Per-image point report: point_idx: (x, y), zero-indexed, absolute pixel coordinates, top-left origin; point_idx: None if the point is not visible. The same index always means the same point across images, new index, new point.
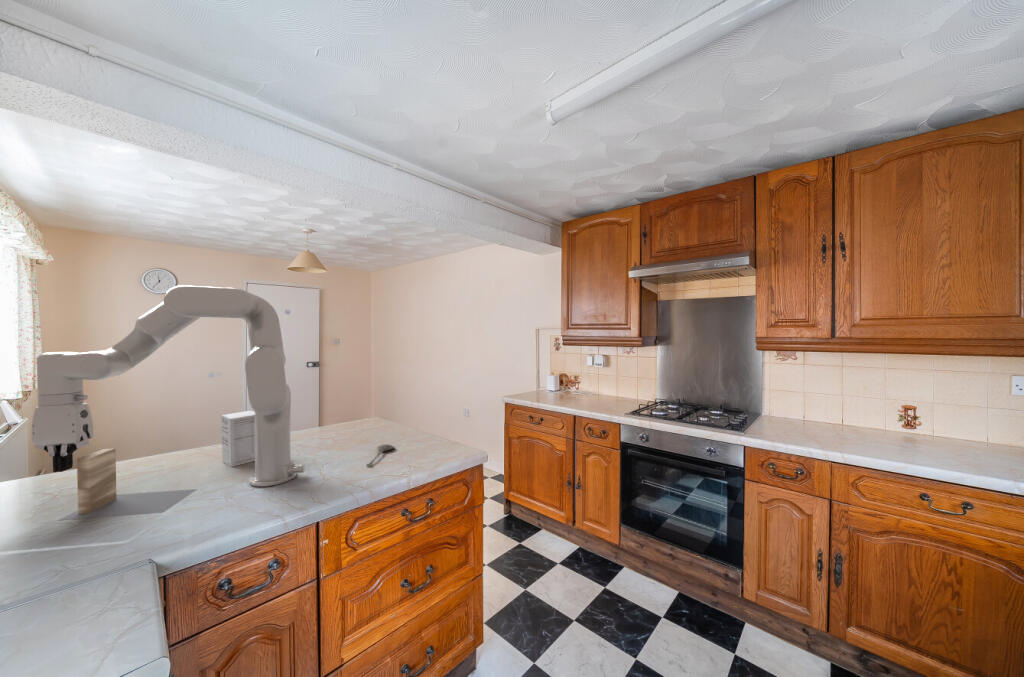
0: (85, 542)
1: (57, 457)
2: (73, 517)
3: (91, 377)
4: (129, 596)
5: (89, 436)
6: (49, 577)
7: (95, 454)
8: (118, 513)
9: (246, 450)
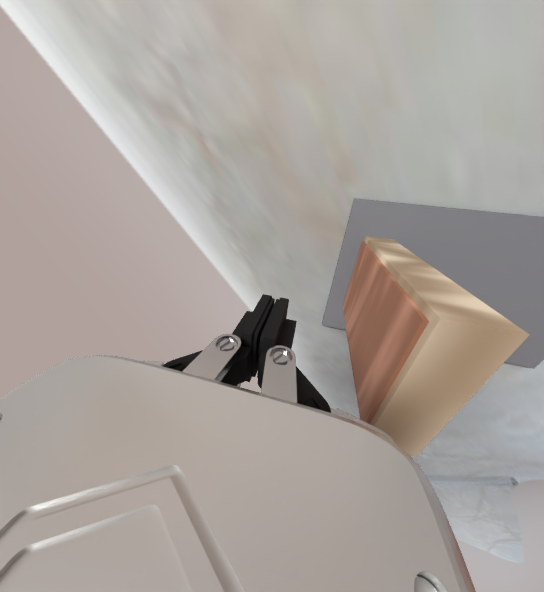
0: None
1: (254, 373)
2: (343, 322)
3: None
4: (496, 515)
5: (376, 442)
6: None
7: (425, 418)
8: None
9: None
